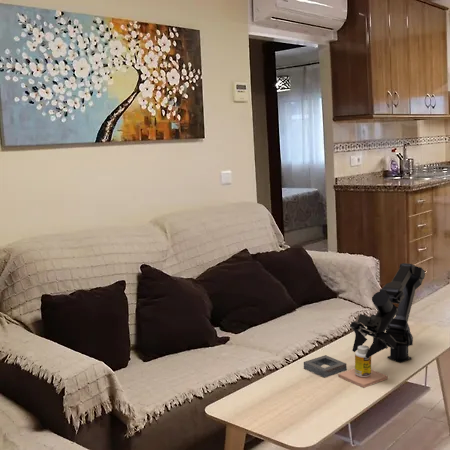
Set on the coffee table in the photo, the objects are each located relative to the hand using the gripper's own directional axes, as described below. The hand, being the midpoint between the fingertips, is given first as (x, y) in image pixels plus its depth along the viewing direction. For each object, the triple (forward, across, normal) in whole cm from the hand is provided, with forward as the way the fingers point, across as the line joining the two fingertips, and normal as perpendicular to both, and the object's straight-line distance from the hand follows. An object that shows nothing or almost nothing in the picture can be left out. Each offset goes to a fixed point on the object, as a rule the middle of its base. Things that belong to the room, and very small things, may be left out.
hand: (359, 354), depth 207 cm
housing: (+10, -14, +3) cm, 17 cm away
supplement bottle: (+5, 0, +7) cm, 8 cm away
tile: (+5, 0, +7) cm, 9 cm away
